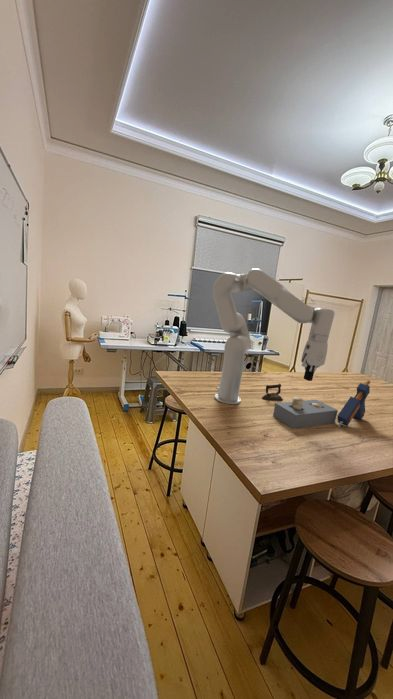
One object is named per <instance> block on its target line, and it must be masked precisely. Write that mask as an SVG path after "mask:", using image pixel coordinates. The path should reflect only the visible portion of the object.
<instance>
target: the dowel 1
mask: <svg viewBox="0 0 393 699" xmlns="http://www.w3.org/2000/svg"><path fill="white" fill-rule="evenodd" d="M304 401H305V400H304V399H303V398H301V397H297V396H294V397H292V401H291V402H292V405H291V408H293V409H295V410H296V411H298V410H302V406H303V402H304Z"/></svg>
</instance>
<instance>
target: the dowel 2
mask: <svg viewBox="0 0 393 699" xmlns="http://www.w3.org/2000/svg"><path fill="white" fill-rule="evenodd" d="M312 406H314V407H316V408H322V405H320V404H317V403H312Z"/></svg>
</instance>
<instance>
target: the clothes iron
mask: <svg viewBox="0 0 393 699" xmlns="http://www.w3.org/2000/svg"><path fill="white" fill-rule="evenodd" d="M281 388H282V385H281V383H278V384H271V385H270V384H269V385H268V384H266V386H265V394H264V395H263V396H262V397H261V399H262V400H265V401H275V402H277V401H278V402H279V401H281V402H282V401H284V399H283V397H282V396H280V394H281V392H282V389H281ZM270 389H278V390H277V392H270V393H269V390H270Z"/></svg>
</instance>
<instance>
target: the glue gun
mask: <svg viewBox="0 0 393 699" xmlns="http://www.w3.org/2000/svg"><path fill="white" fill-rule="evenodd" d="M370 384H371V381H370V380H369V379H368V380H366V382H365V383H362V382H361V383H359V384H358V386H357V387H356V394H355V395H354V397H353V396H350V397H349V398H348V400H347V401H346V403H345V404H344V406H342V409H341V410H340V411H339V413H337V415H336V418H337V423H338V425H337V428H340V426H342V425H343V426H346V427H348V426H349V424H350V423H351V421H352V420H353V418H355V419H358V420H360V421H361V420H363V418H364V416H365V414H366V402H365V401H366V400H367V397H368V396H369V394H370V393H371V392H370Z"/></svg>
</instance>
